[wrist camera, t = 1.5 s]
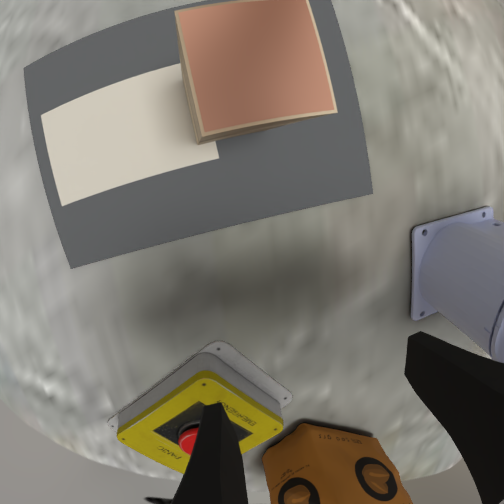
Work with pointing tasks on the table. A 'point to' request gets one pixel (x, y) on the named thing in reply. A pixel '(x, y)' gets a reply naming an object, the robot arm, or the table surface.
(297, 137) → the rubber mat
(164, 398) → the emergency button
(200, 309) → the table surface
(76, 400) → the table surface
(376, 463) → the coffee package
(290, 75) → the wooden block
